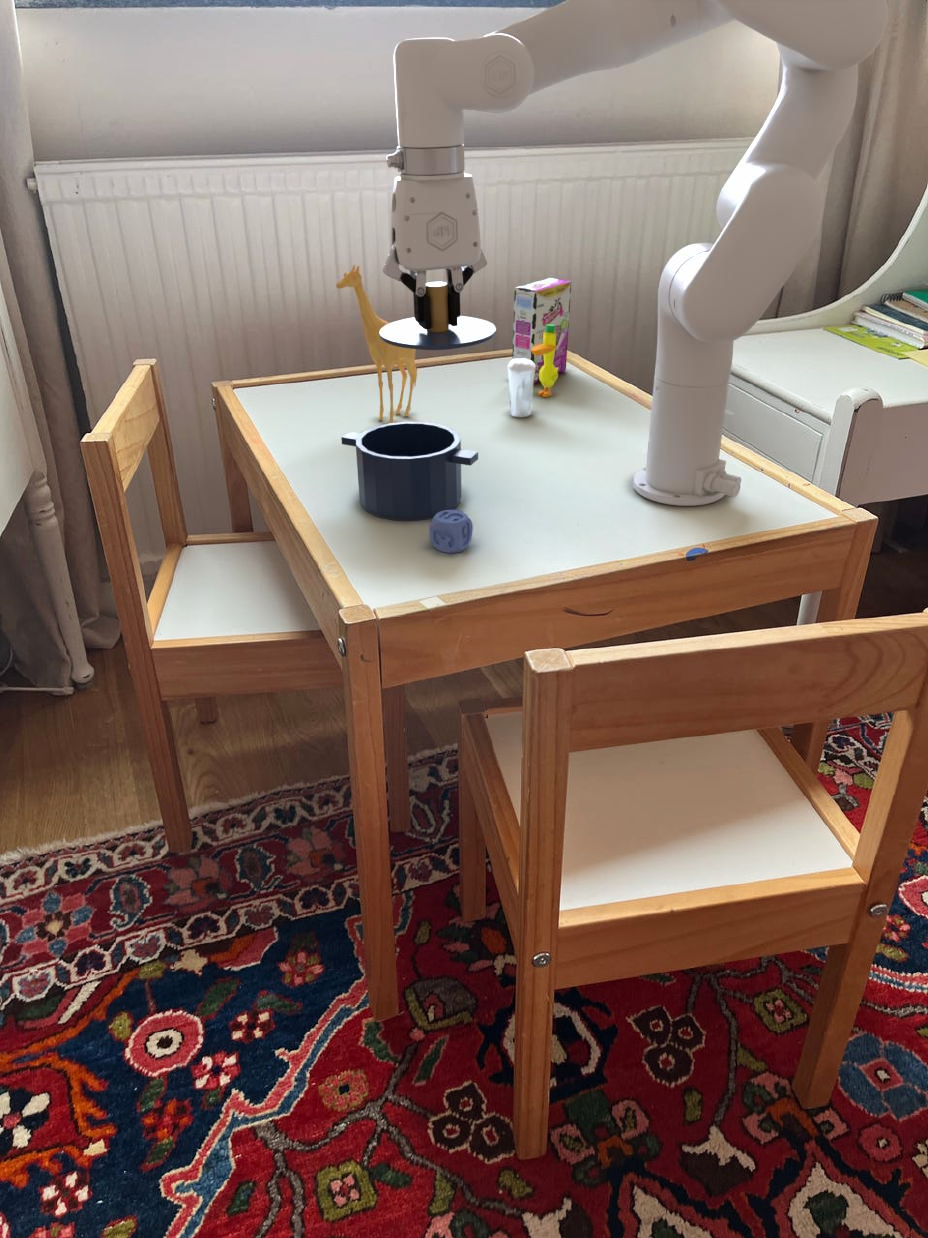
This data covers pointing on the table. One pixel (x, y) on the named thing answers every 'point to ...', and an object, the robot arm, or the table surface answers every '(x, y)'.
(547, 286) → the candy bar box
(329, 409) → the table surface
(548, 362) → the toy figure
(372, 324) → the giraffe
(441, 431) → the blue cooking pot
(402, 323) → the lid
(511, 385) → the milkshake
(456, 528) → the decorative dice
